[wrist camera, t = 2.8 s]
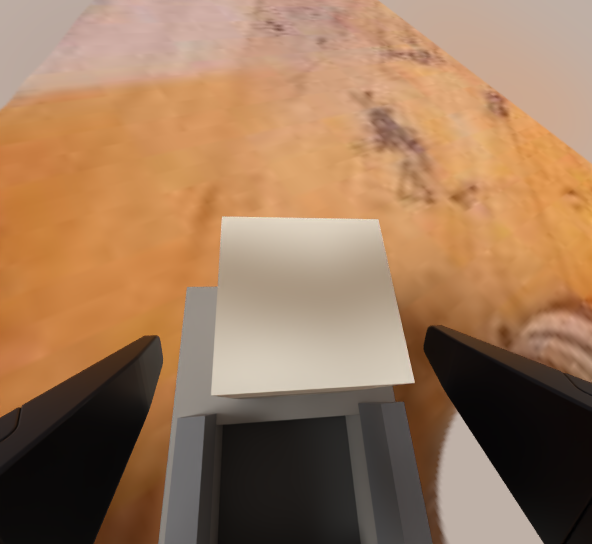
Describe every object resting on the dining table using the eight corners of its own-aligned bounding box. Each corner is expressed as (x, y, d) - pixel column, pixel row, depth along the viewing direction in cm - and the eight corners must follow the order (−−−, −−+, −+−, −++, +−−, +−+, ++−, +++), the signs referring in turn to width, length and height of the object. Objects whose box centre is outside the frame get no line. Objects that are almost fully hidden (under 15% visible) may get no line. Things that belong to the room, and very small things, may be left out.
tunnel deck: (429, 742, 12) (575, 1038, 6) (151, 809, 10) (28, 1265, 5) (357, 300, 20) (394, 262, 14) (197, 304, 18) (171, 263, 13)
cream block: (336, 392, 14) (414, 382, 7) (237, 399, 14) (211, 395, 6) (326, 300, 16) (378, 219, 9) (240, 301, 16) (222, 216, 8)
